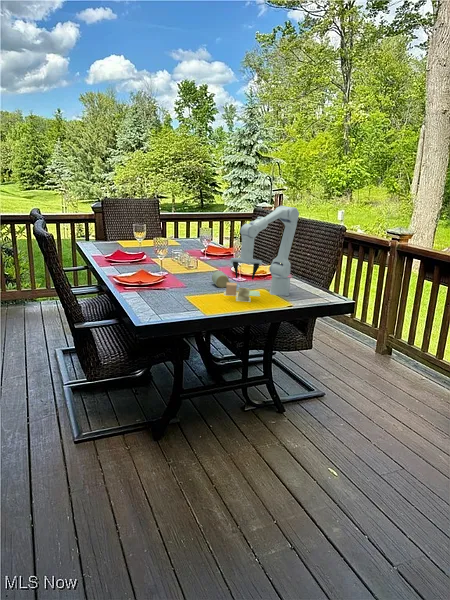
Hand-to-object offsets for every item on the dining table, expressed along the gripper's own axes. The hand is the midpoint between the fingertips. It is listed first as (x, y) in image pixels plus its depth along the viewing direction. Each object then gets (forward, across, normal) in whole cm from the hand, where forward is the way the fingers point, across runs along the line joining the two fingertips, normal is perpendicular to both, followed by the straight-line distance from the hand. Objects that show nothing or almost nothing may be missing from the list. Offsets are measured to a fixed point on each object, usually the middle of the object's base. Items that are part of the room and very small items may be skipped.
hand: (244, 278), depth 207 cm
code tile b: (+11, -6, +8) cm, 14 cm away
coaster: (+10, +4, +11) cm, 16 cm away
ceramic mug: (+11, -11, +22) cm, 27 cm away
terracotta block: (+10, -6, +8) cm, 14 cm away
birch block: (+10, 0, 0) cm, 10 cm away
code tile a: (+11, 0, 0) cm, 11 cm away
